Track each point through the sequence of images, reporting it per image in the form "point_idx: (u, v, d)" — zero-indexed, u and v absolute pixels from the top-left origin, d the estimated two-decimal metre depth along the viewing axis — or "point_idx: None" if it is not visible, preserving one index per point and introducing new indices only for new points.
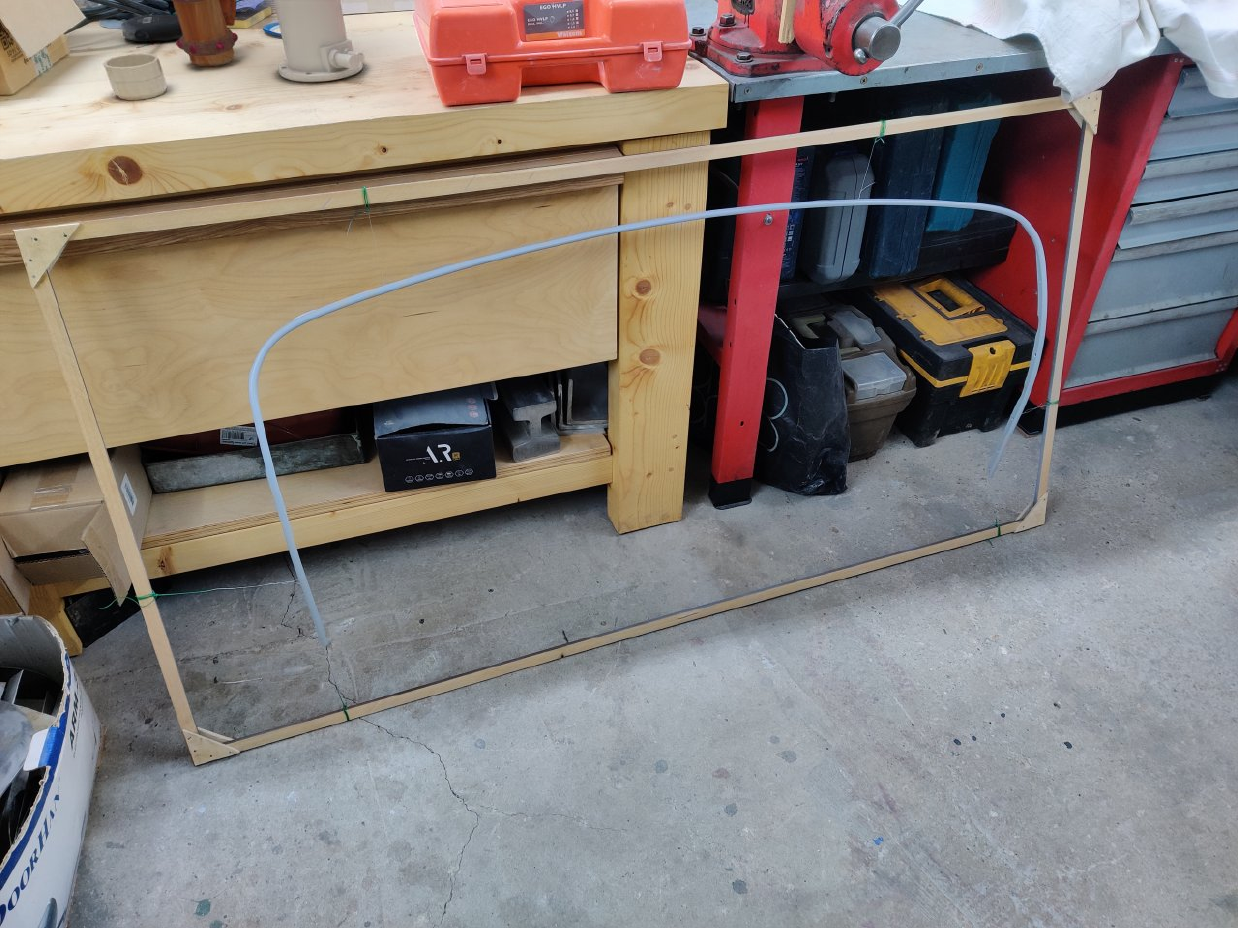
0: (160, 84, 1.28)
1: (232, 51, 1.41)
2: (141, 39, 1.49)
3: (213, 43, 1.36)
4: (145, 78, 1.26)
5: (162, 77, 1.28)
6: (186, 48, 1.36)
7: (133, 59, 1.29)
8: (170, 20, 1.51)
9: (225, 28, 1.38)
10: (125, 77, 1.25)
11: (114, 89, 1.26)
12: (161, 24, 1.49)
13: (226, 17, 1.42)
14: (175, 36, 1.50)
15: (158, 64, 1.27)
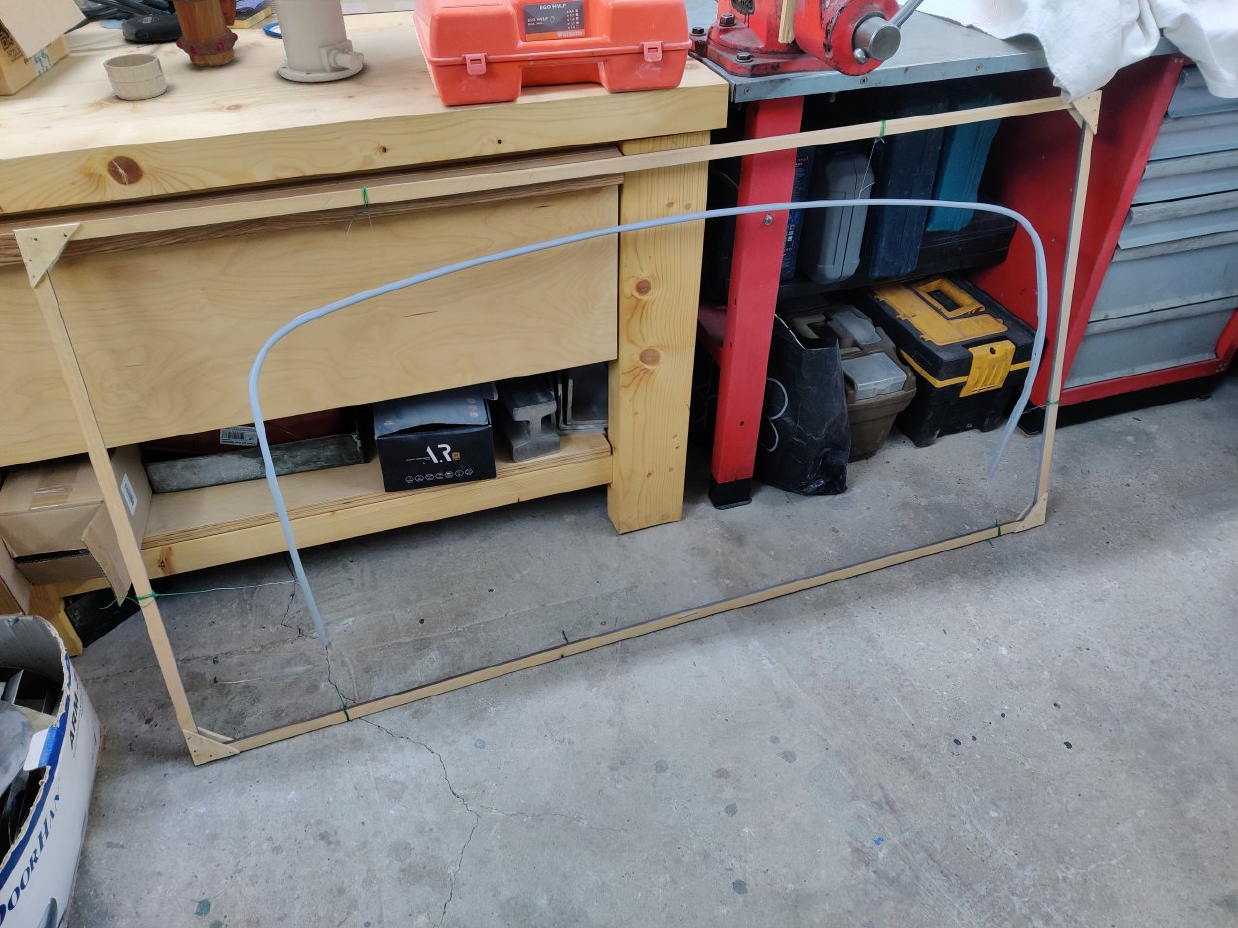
0: (160, 84, 1.28)
1: (232, 51, 1.41)
2: (141, 39, 1.49)
3: (213, 43, 1.36)
4: (145, 78, 1.26)
5: (162, 77, 1.28)
6: (186, 48, 1.36)
7: (133, 59, 1.29)
8: (170, 20, 1.51)
9: (225, 28, 1.38)
10: (125, 77, 1.25)
11: (114, 89, 1.26)
12: (161, 24, 1.49)
13: (226, 17, 1.42)
14: (175, 36, 1.50)
15: (158, 64, 1.27)
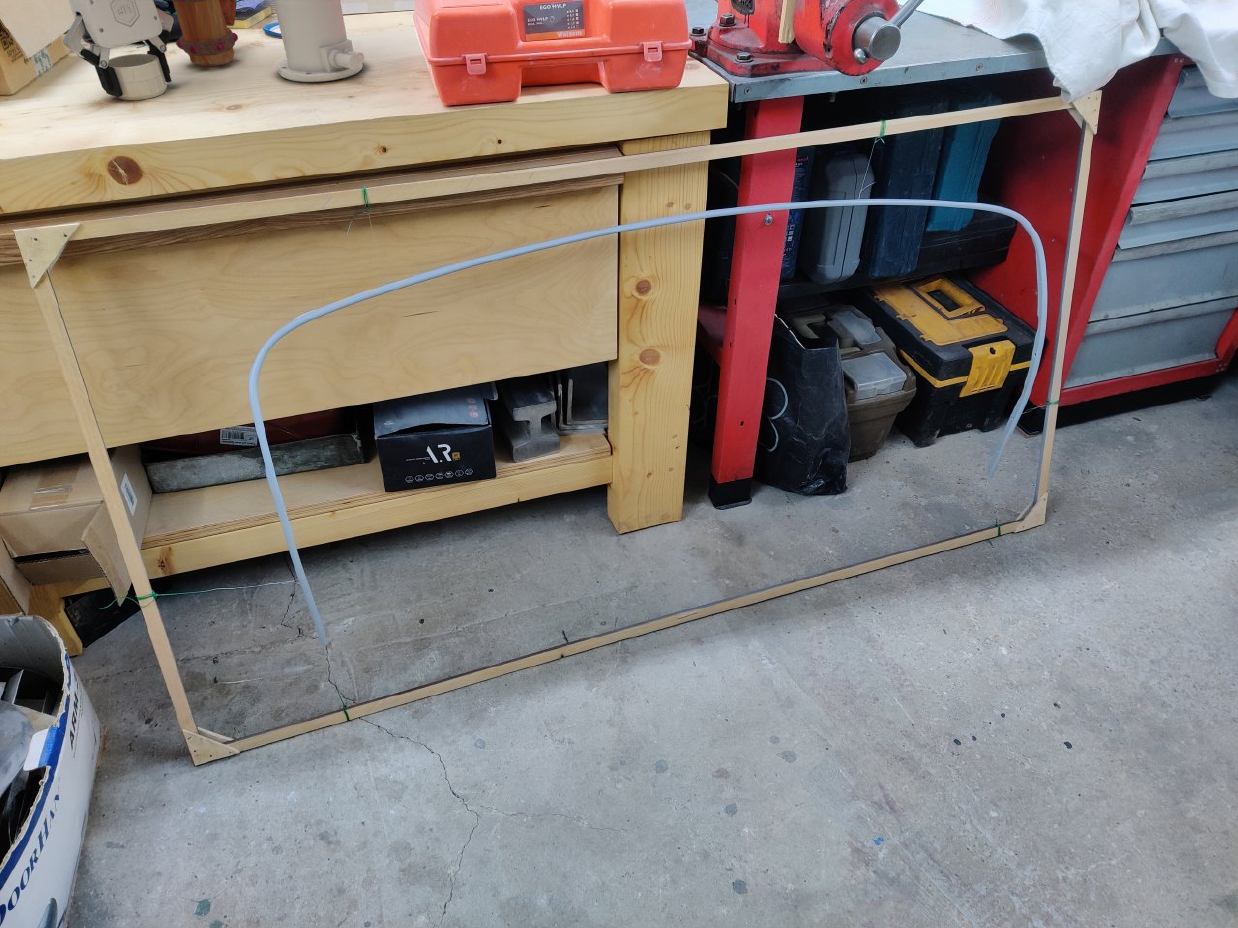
0: (160, 84, 1.28)
1: (232, 51, 1.41)
2: None
3: (213, 43, 1.36)
4: (145, 78, 1.26)
5: (162, 77, 1.28)
6: (186, 48, 1.36)
7: (133, 60, 1.29)
8: None
9: (225, 28, 1.38)
10: (125, 77, 1.24)
11: None
12: None
13: (226, 17, 1.42)
14: (175, 36, 1.50)
15: (158, 64, 1.27)
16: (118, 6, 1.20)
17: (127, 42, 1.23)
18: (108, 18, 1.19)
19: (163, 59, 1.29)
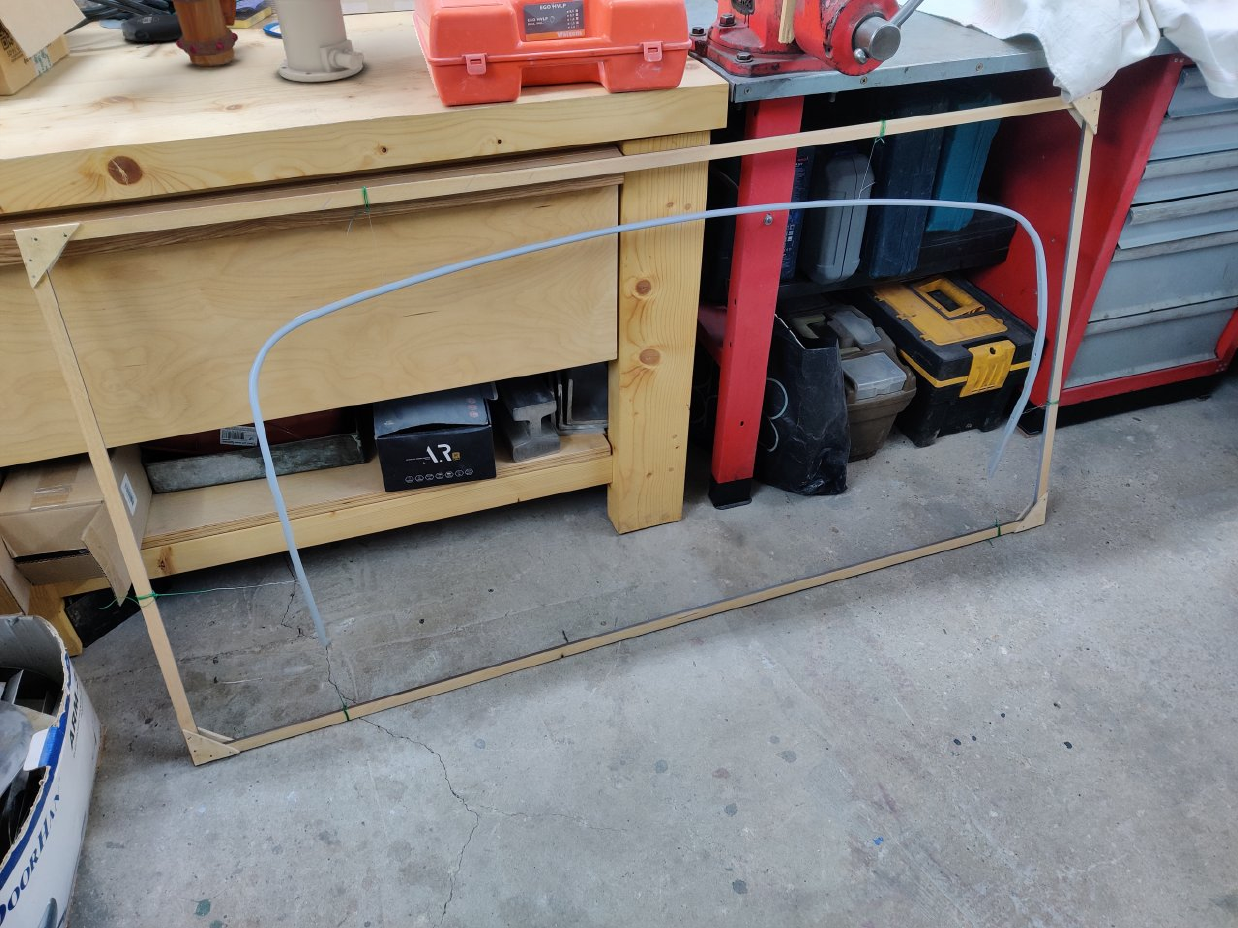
0: None
1: (232, 51, 1.41)
2: (141, 39, 1.49)
3: (213, 43, 1.36)
4: None
5: None
6: (186, 48, 1.36)
7: None
8: (170, 20, 1.51)
9: (225, 28, 1.38)
10: None
11: None
12: (161, 24, 1.49)
13: (226, 17, 1.42)
14: (175, 36, 1.50)
15: None
16: None
17: None
18: None
19: None
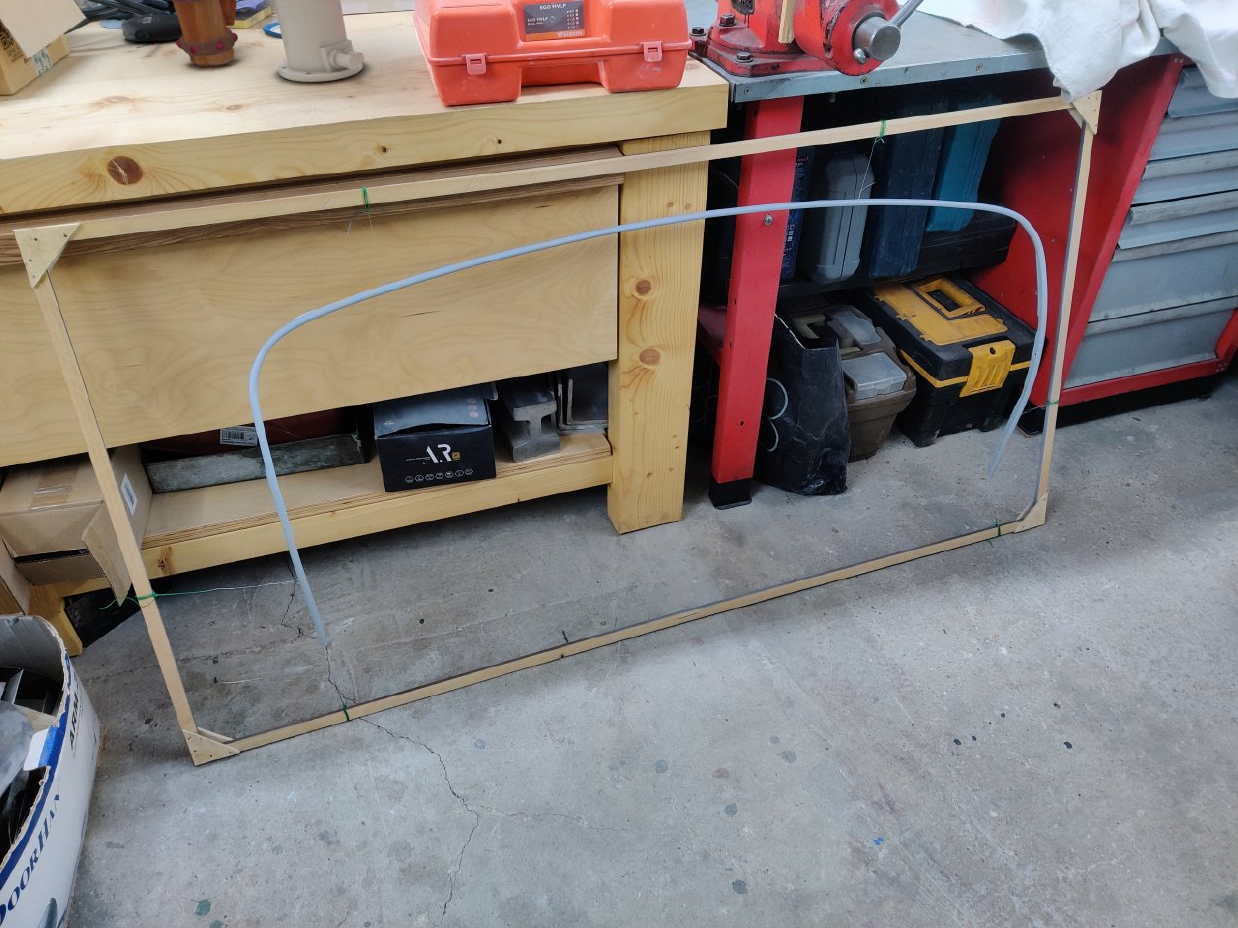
0: None
1: (232, 51, 1.41)
2: (141, 39, 1.49)
3: (213, 43, 1.36)
4: None
5: None
6: (186, 48, 1.36)
7: None
8: (170, 20, 1.51)
9: (225, 28, 1.38)
10: None
11: None
12: (161, 24, 1.49)
13: (226, 17, 1.42)
14: (175, 36, 1.50)
15: None
16: None
17: None
18: None
19: None
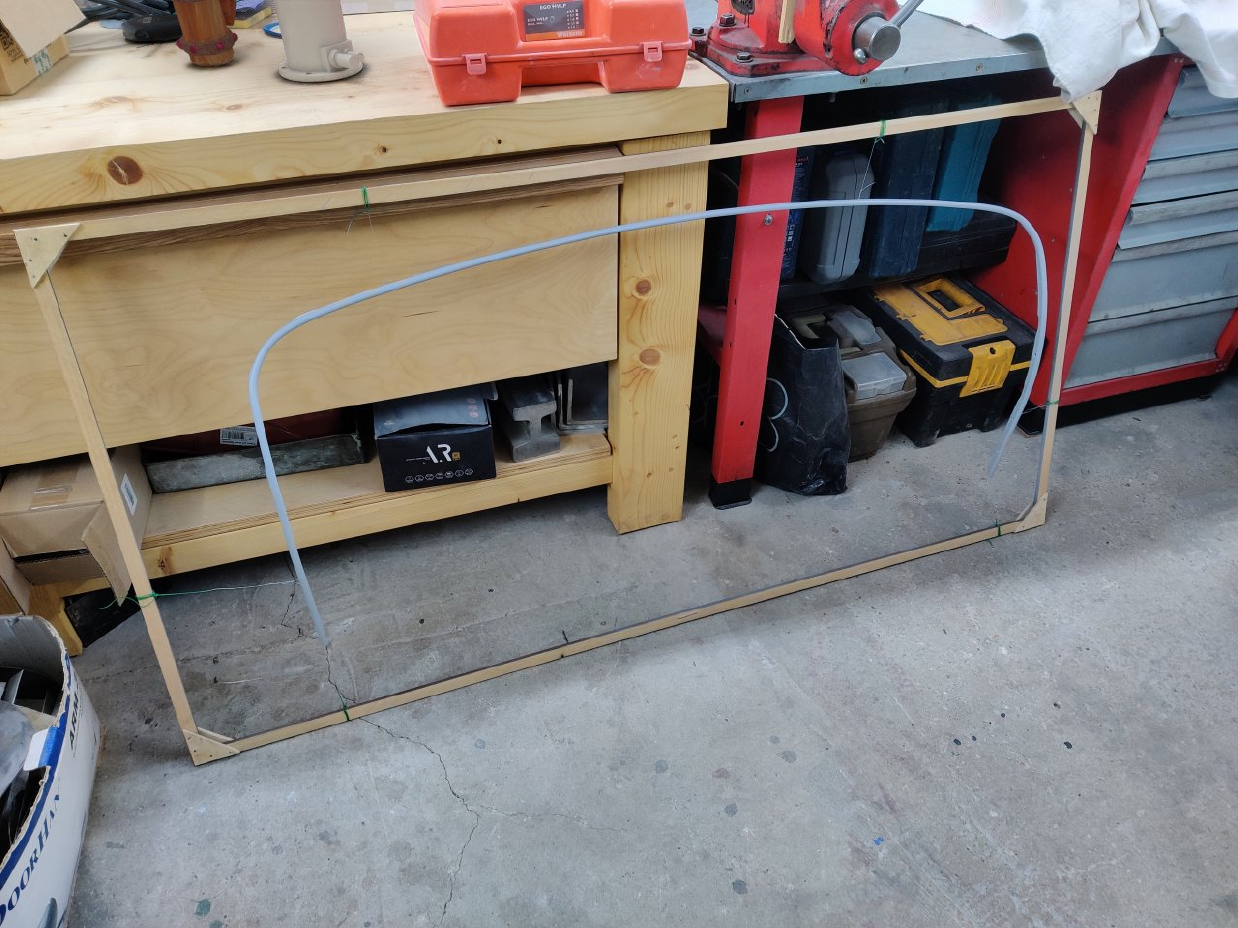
0: None
1: (232, 51, 1.41)
2: (141, 39, 1.49)
3: (213, 43, 1.36)
4: None
5: None
6: (186, 48, 1.36)
7: None
8: (170, 20, 1.51)
9: (225, 28, 1.38)
10: None
11: None
12: (161, 24, 1.49)
13: (226, 17, 1.42)
14: (175, 36, 1.50)
15: None
16: None
17: None
18: None
19: None
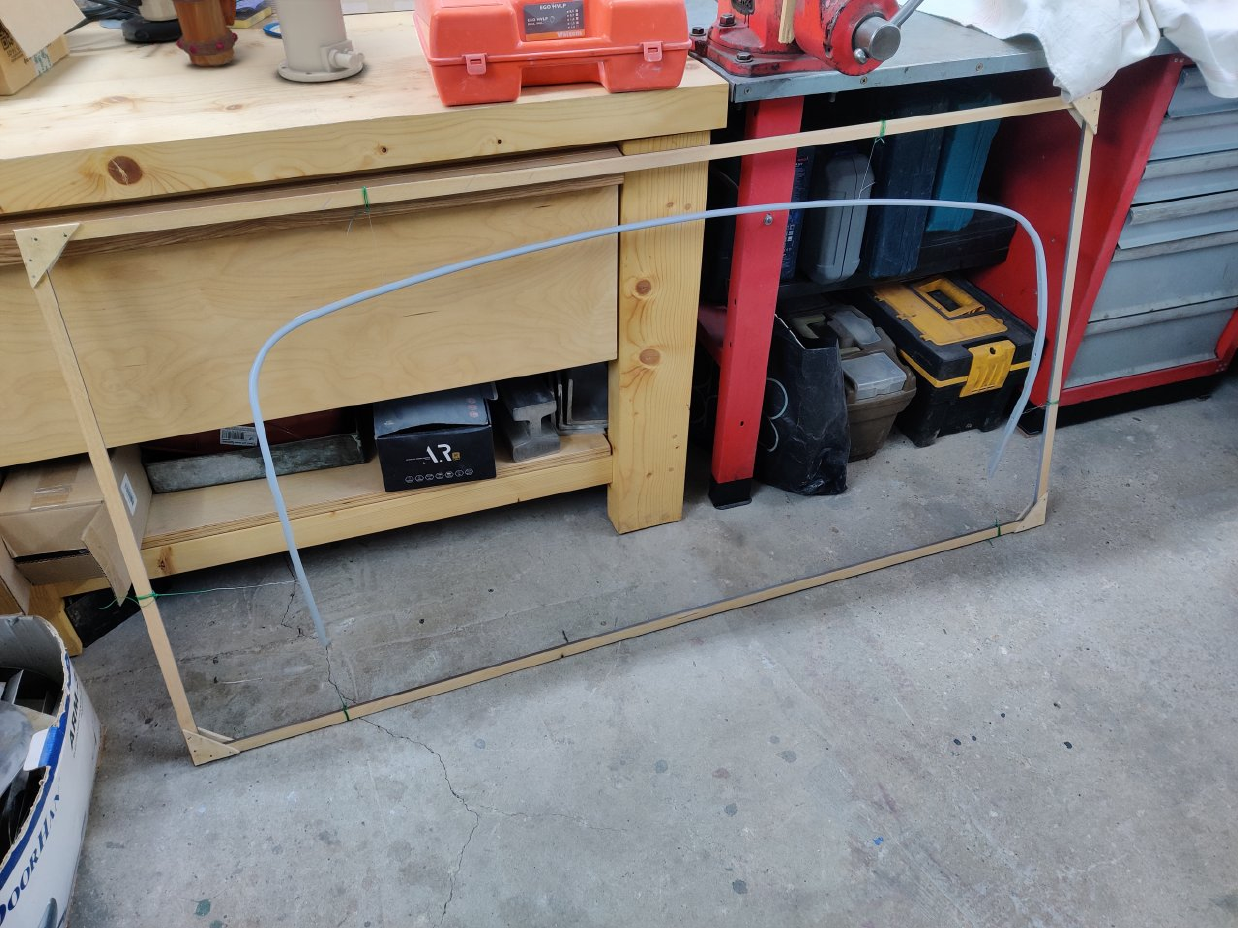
0: None
1: (232, 51, 1.41)
2: (141, 39, 1.49)
3: (213, 43, 1.36)
4: (168, 1, 1.48)
5: None
6: (186, 48, 1.36)
7: None
8: (170, 20, 1.51)
9: (225, 28, 1.38)
10: (151, 0, 1.47)
11: (141, 11, 1.49)
12: (161, 24, 1.49)
13: (226, 17, 1.42)
14: (175, 36, 1.50)
15: None
16: None
17: None
18: None
19: None
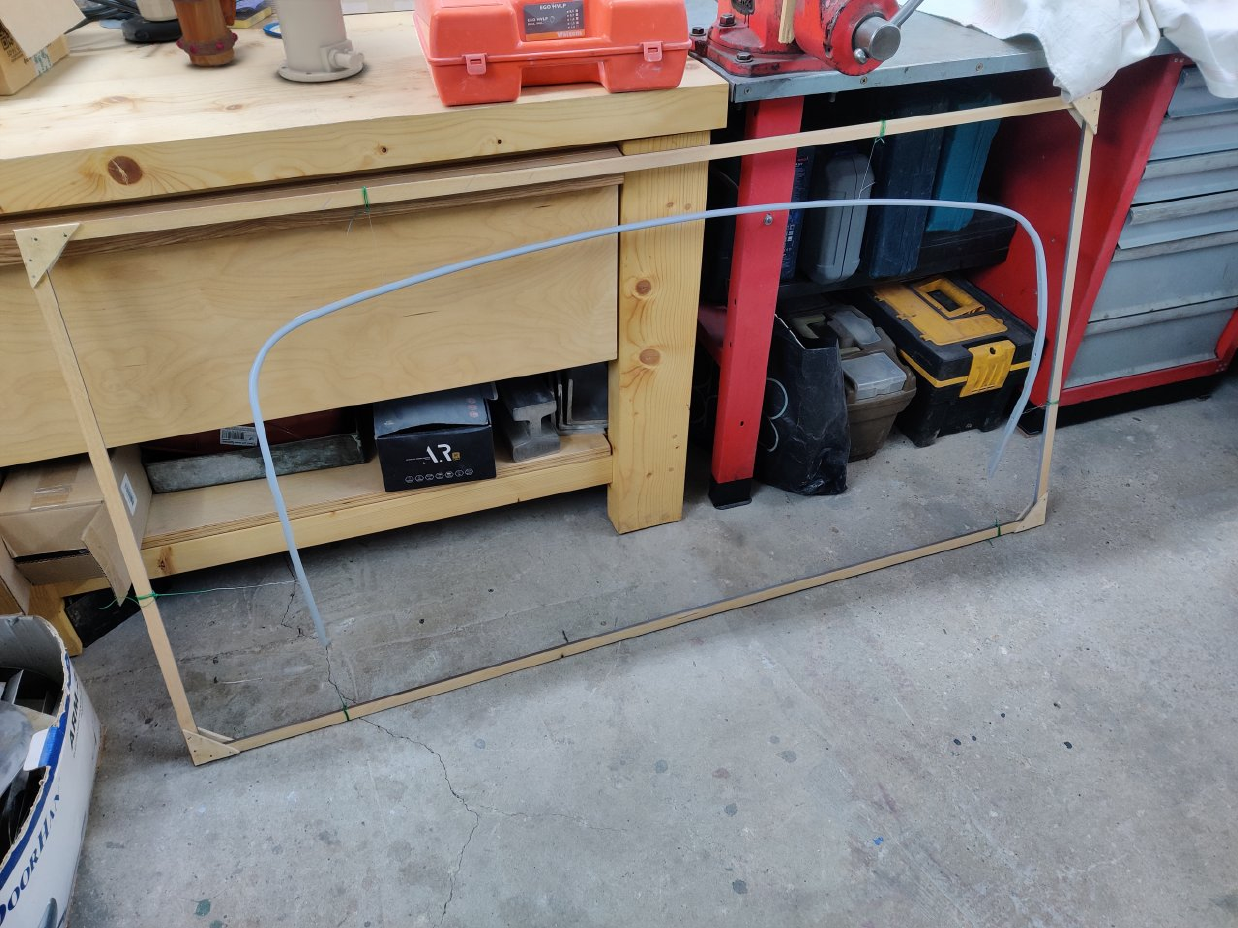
0: None
1: (232, 51, 1.41)
2: (141, 39, 1.49)
3: (213, 43, 1.36)
4: (168, 2, 1.48)
5: None
6: (186, 48, 1.36)
7: None
8: (170, 20, 1.51)
9: (225, 28, 1.38)
10: (151, 0, 1.47)
11: (141, 11, 1.49)
12: (161, 24, 1.49)
13: (226, 17, 1.42)
14: (175, 36, 1.50)
15: None
16: None
17: None
18: None
19: None
